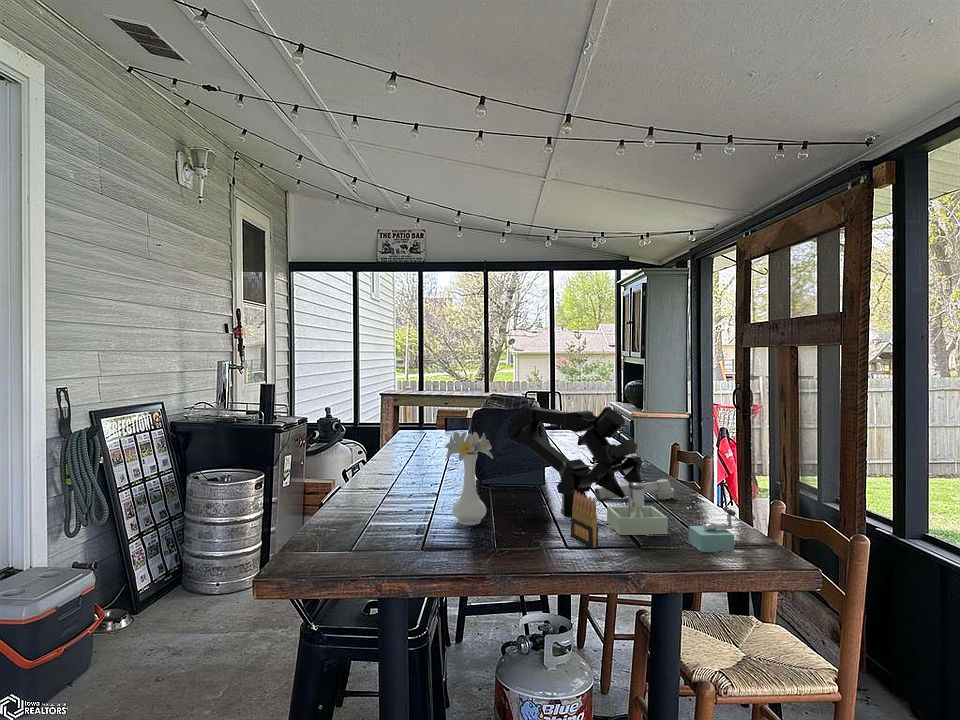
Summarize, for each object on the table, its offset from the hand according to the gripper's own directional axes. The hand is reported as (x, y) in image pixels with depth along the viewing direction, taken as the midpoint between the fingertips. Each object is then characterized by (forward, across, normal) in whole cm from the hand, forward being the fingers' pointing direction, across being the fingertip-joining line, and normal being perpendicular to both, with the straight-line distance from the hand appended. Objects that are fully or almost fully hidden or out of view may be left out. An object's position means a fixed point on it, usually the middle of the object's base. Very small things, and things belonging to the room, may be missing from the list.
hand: (633, 494), depth 181 cm
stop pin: (+6, 0, +5) cm, 8 cm away
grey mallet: (-7, +30, +20) cm, 37 cm away
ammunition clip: (+6, -20, +7) cm, 22 cm away
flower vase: (-18, -29, +31) cm, 46 cm away
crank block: (+22, 0, -10) cm, 24 cm away
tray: (+7, 0, +6) cm, 9 cm away
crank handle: (+20, +1, -13) cm, 24 cm away
